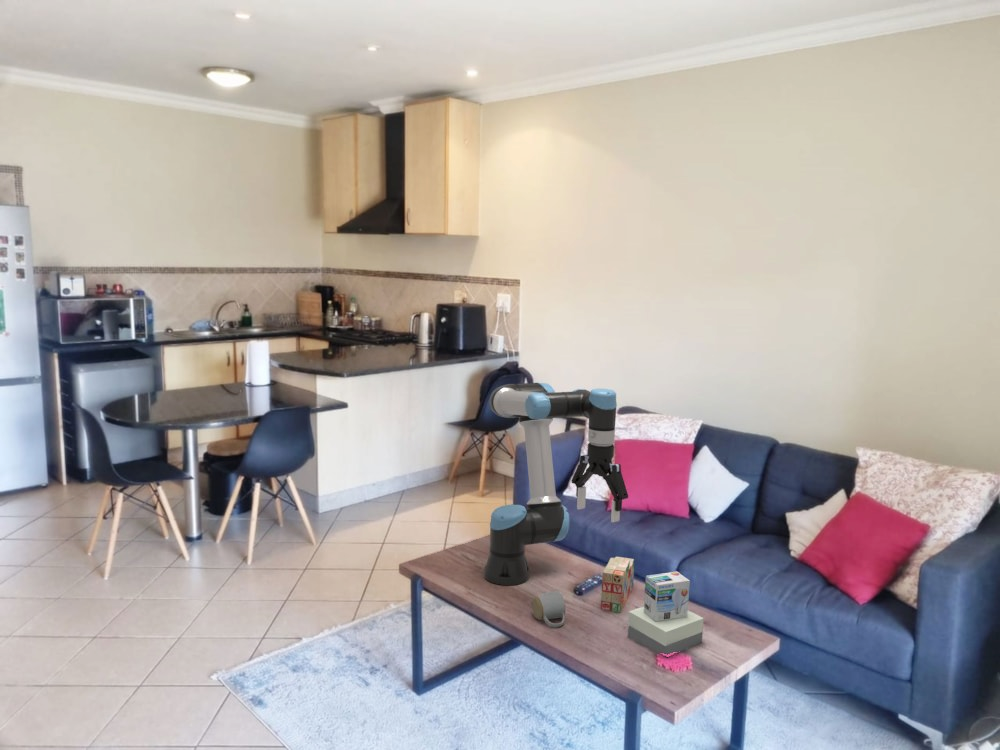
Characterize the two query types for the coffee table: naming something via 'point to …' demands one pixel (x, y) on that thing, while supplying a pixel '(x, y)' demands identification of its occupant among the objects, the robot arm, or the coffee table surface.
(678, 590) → the light bulb box
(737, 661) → the coffee table surface
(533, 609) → the ceramic mug
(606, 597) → the stack of blocks
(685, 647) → the tower base slab
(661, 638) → the tower top slab
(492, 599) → the coffee table surface
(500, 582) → the robot arm
